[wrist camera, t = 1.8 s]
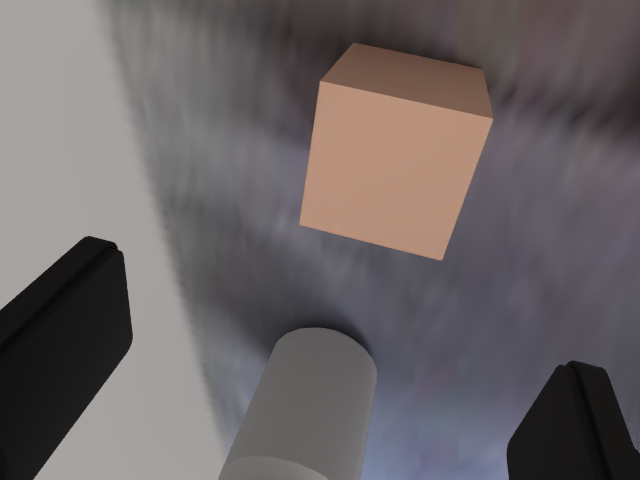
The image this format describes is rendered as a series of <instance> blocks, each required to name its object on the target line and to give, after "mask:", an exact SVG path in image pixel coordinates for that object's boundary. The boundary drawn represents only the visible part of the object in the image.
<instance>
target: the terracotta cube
mask: <svg viewBox="0 0 640 480" xmlns="http://www.w3.org/2000/svg"><path fill="white" fill-rule="evenodd" d="M493 119H494V118H493V113H492V109H491V104H490V100H489V95H488V91H487V86H486V82H485V77H484V73H483V69H479V68H474V67H470V66H465V65H460V64H455V63H450V62H446V61H441V60H436V59H431V58H426V57H422V56H417V55H412V54H407V53H402V52H398V51H393V50H388V49H383V48H378V47H374V46H369V45H364V44H359V43H353V44H352V45H351V46H350V47H349V48H348V49H347V51H346V52H345V53H344V54H343V55H342V56H341V57H340V59H339V60H338V61H337V62H336V63H335V64H334V66H333V67H332V68H331V69H330V70H329V71H328V72H327V74H326V75H325V76H324V77H323V78H322V79H321V80H320V85H319V92H318V99H317V106H316V113H315V120H314V127H313V133H312V140H311V147H310V154H309V161H308V168H307V175H306V181H305V188H304V195H303V202H302V209H301V216H300V223H299V225H302V226H306V227H310V228H314V229H318V230H322V231H326V232H330V233H334V234H338V235H342V236H346V237H349V238H353V239H357V240H361V241H365V242H369V243H373V244H377V245H381V246H385V247H389V248H393V249H397V250H401V251H405V252H409V253H413V254H417V255H421V256H425V257H429V258H433V259H437V260H441V261H442V259H443V256H444V254H445V251H446V248H447V245H448V243H449V240H450V237H451V234H452V232H453V229H454V226H455V223H456V221H457V218H458V215H459V212H460V210H461V207H462V204H463V201H464V199H465V196H466V193H467V191H468V188H469V185H470V182H471V180H472V177H473V174H474V171H475V169H476V166H477V163H478V160H479V158H480V155H481V152H482V149H483V147H484V144H485V141H486V138H487V136H488V133H489V130H490V128H491V125H492V122H493Z"/></svg>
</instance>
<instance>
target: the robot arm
mask: <svg viewBox="0 0 640 480" xmlns="http://www.w3.org/2000/svg"><path fill="white" fill-rule="evenodd" d="M132 339H133V334H132V325H131V317H130V308H129V299H128V290H127V281H126V273H125V264H124V256H123V253H122V252H121V251H119V250H118V248H117V245H116V244H115V243H114V242H111V241H107V240H103V239H99V238H95V237H91V236H88V237H85V238H83V239H82V240H80V241H79V242H78V243H77V244H76V245H75V246H74V247H72V248H71V249H70V250H69V251H68V252H67V253H65V254H64V255H63V256H62V257H61V258H60V259H59V260H58V261H56V262H55V263H54V264H53V265H52V266H51V267H50V268H48V269H47V270H46V271H45V272H44V273H43V274H41V275H40V276H39V277H38V278H37V279H36V280H35V281H33V282H32V283H31V284H30V285H29V286H28V287H27V288H25V289H24V290H23V291H22V292H21V293H20V294H18V295H17V296H16V297H15V298H14V299H13V300H12V301H10V302H9V303H8V304H7V305H6V306H5V307H4V308H2V309H1V310H0V480H33V479H34V478H35V476H36V475H37V474H38V472H39V471H40V470H41V468H42V467H43V466H44V464H45V463H46V461H47V460H48V459H49V457H50V456H51V455H52V453H53V452H54V451H55V449H56V448H57V447H58V445H59V444H60V443H61V441H62V440H63V438H64V437H65V436H66V434H67V433H68V432H69V430H70V429H71V428H72V426H73V425H74V424H75V422H76V421H77V420H78V418H79V417H80V415H81V414H82V413H83V412H84V410H85V409H86V407H87V406H88V405H89V403H90V402H91V401H92V399H93V398H94V397H95V395H96V394H97V392H98V391H99V390H100V389H101V387H102V386H103V384H104V383H105V382H106V380H107V379H108V378H109V376H110V375H111V374H112V372H113V371H114V370H115V368H116V367H117V365H118V364H119V363H120V361H121V360H122V359H123V357H124V356H125V355H126V353H127V352H128V350H129V348H130V346H131V343H132ZM507 465H508V474H509V480H640V453H639V452H638V451H637V450H636V449H635V448H634V446H633V443H632V441H631V438H630V435H629V432H628V429H627V427H626V424H625V421H624V418H623V415H622V413H621V410H620V407H619V404H618V402H617V399H616V396H615V393H614V390H613V388H612V385H611V382H610V379H609V377H608V374H607V372H606V370H604V369H603V368H601V367H597V366H593V365H589V364H585V363H581V362H577V361H570V362H568V363H567V365H566V366H564V365H559V366H558V367H557V368H556V369H555V371H554V372H553V374H552V375H551V377H550V378H549V380H548V381H547V383H546V385H545V386H544V388H543V389H542V391H541V392H540V394H539V395H538V397H537V399H536V400H535V402H534V403H533V405H532V406H531V408H530V409H529V411H528V413H527V414H526V416H525V417H524V419H523V420H522V422H521V423H520V425H519V427H518V428H517V430H516V431H515V433H514V434H513V436H512V437H511V439H510V441H509V444H508V447H507Z"/></svg>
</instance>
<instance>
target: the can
mask: <svg viewBox="0 0 640 480" xmlns="http://www.w3.org/2000/svg"><path fill="white" fill-rule="evenodd" d="M377 374H378V373H377V370H376V366H375V363H374V360H373V359H372V357H371V356H370V355H369V353H368V352H367V351H366V349H365V348H364V347H362V346H361V345H360V344H358V343H357V342H356V341H354V340H353V339H352V338H350V337H349V336H347V335H345V334H343V333H340V332H338V331H336V330H332V329H326V328H317V327H316V328H300V329H297V330H294V331H292V332H289V333H286V334H285V335H284V336H283V337H282V338H280V339H279V340H278V341H277V342H276V345H275V347H274V349H273V351H272V353H271V356H270V358H269V360H268V363H267V365H266V367H265V370H264V372H263V375H262V377H261V379H260V382H259V384H258V386H257V389H256V391H255V393H254V396H253V398H252V400H251V403H250V405H249V407H248V410H247V412H246V414H245V417H244V419H243V421H242V424H241V426H240V428H239V431H238V433H237V435H236V438H235V440H234V443H233V445H232V447H231V450H230V452H229V454H228V457H227V459H226V461H225V464H224V466H223V468H222V471H221V473H220V475H219V478H218V479H219V480H360V477H361V471H362V465H363V459H364V453H365V447H366V441H367V435H368V429H369V423H370V417H371V411H372V405H373V399H374V393H375V388H376V381H377Z"/></svg>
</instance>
